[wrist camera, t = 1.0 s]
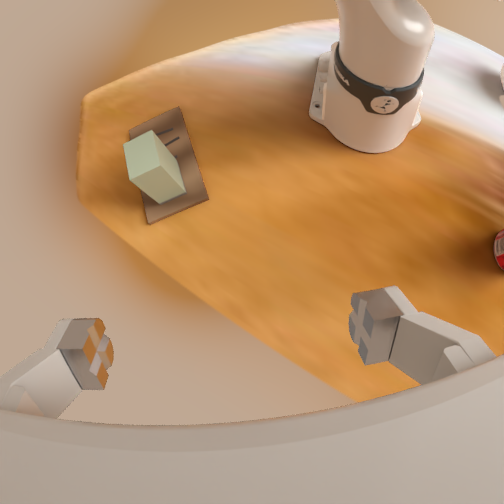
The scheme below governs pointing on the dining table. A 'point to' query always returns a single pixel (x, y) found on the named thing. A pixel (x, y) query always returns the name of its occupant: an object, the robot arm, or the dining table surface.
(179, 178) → the green block
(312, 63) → the dining table surface
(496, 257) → the soda can
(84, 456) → the robot arm
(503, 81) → the lidded jar
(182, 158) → the board
